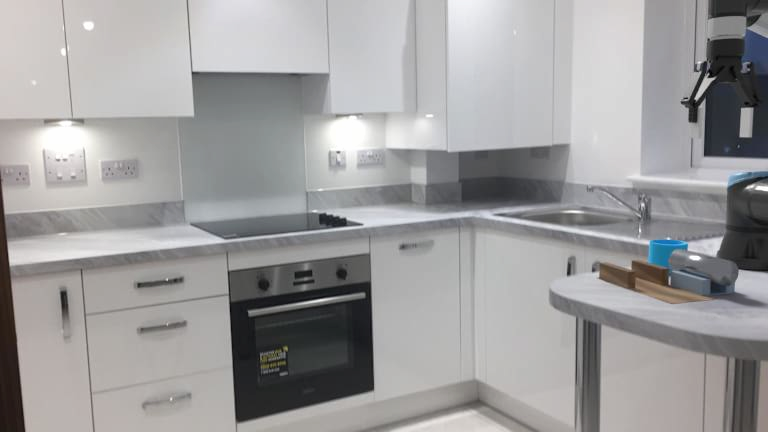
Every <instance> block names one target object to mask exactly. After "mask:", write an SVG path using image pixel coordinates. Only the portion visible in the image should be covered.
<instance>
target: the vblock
mask: <svg viewBox="0 0 768 432" xmlns="http://www.w3.org/2000/svg"><path fill="white" fill-rule="evenodd" d="M669 283H670V284H669V285H671V286H674V287H677V288H680V289H683V290H687V291H690V292H693V293H696V294H699V295H703V296H706V297H709V296H717V295H726V294H727V295H729V294H735V288H736V287H735V286H736V281H735V282H734V283H733V284H732V285H730V286H723V285H720V284H716V283H712V282H711V279H707V278H704V277H700V276H696V275H693V274H689V273H686V272H682V271H671V275H670V278H669Z"/></svg>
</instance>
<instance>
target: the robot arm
mask: <svg viewBox="0 0 768 432" xmlns="http://www.w3.org/2000/svg"><path fill="white" fill-rule="evenodd" d="M707 8H708V11H707V13H708V14H707V16H708V17H707V33H706V37H707V39H709V40H708V41H707V42H706V51H705V53H706V55H705V57H706V58H707V60H701V61H696V62H695V63H694V67H693V68H694V70H693V74H692V76H691V78H690V80H689V81H688V84H687V87H686V89H685V91H684V93H683V95H682V98H681V99H680V104H681V105H682V106H684V107H685V108H686V109H688V117H687V118H688V119H687V121H688V123H689V139H702V133H703V132H702V131H703V128H702V127H703V113H704V112H703V111H704V107H700V106H701V105H702V104H703V102H704V101H705V100H706V98H707V96H708V95H709V94H710V93H711V91H712V90H713V89H714V88H715V86H716V85H717V84H720V83H721V84H728V85H730V86H731V87H732V88H733V90H734V92H735V94H736V95H737V97H738V98H739V100H740V101H741V104H742V105H743V106H744V107H741V108H740V124H739V125H740V127H739V138H753V123H754V122H755V117H756V108H759V107H760V106H761V105H764V101H765V100H764V97H763V94H762V90H761V88H760V86H759V81H758V79H757V77H756V74H755V73H756V72H755V63H754V62H753V61H749V62H748V61H747V62H743V61H742V58H743V57H744V56H745V51H746V50H745V49H746V48H745V47H746V40H745V39H744V37H745V36H746V34H747V33H746V31H747V30H748V31H752V32H754V33H756V34H758V35H760V36H763V37H764V38H767V39H768V0H708V7H707ZM706 74H707V75H706ZM726 191H727V192H726V206H725V207H726V209H725V210H726V211H725V229H724V234H723V237H722V240H721V243H720V245H719V246H720V247H719V250H717V252H716V255H715V257H716V258H720V259H725V260H729V261H733V262H734V263H736V265H737V266H738V269H742V270H751V271H752V270H756V271H758V270H759V271H768V170H756V171H742V172H739V171H738V172H733V173H732V174H730V175H729V176H728V180H727V187H726Z"/></svg>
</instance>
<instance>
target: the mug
mask: <svg viewBox="0 0 768 432" xmlns="http://www.w3.org/2000/svg"><path fill="white" fill-rule="evenodd" d="M688 245H689V243H688V242H686V241H684V240H677V239H666V238H665V239H664V238H662V239H652V240H649V242H648V261H647V262H648V263H652V264H655V265H659V266H662V267H666V268H669V276H671V271H672V270H671V269H670V267H669V264H668V260H669V256H670V254H671V253H672V252H673V251H674V250H677V249H682V250H686V251H689V250H688V249H689V246H688Z"/></svg>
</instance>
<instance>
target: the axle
mask: <svg viewBox="0 0 768 432" xmlns="http://www.w3.org/2000/svg"><path fill="white" fill-rule="evenodd" d="M668 264H669V267H670V269H671V270H672V271H682V272H686V273H689V274H693V275H696V276H700V277H704V278H707V279H711V282H712V283H716V284H720V285H723V286H730V285H732V284H733V283H734V282H735V283H736V281H737V280H738V278H739V273H740V272H739V271H740V270H739V268H738V266H737V265H736V263H734V262H733V261H729V260H725V259H720V258H716V256H712V255H707V254H704V253H698V252H694V251H690V250H688V251H686V250H682V249H677V250H674V251H673V252H672V253H671V254H670V256H669V260H668Z"/></svg>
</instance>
